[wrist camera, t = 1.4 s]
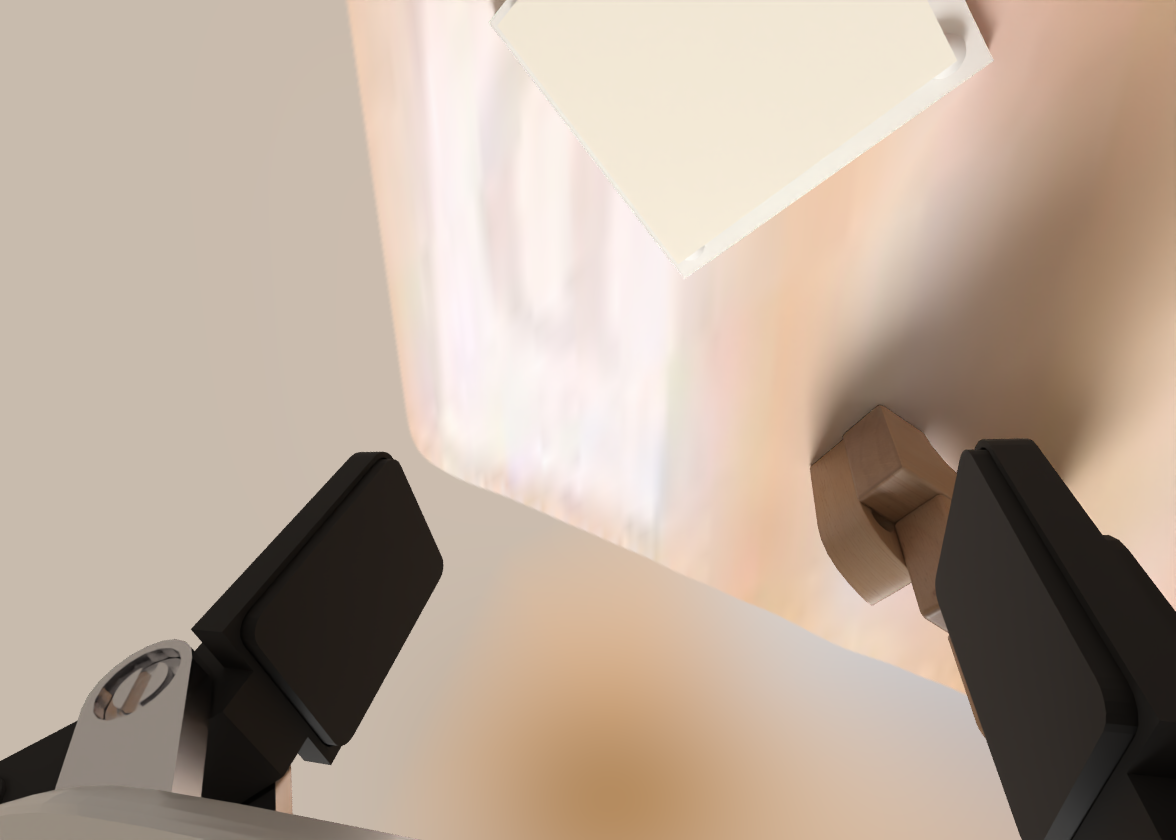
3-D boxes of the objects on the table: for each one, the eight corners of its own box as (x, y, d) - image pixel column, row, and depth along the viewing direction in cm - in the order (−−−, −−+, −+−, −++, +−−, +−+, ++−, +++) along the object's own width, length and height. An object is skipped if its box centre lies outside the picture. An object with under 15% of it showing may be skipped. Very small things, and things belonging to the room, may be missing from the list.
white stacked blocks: (789, -348, 20) (823, -661, 11) (985, 59, 24) (1120, 73, 16) (495, 23, 28) (379, 17, 19) (685, 273, 33) (662, 361, 24)
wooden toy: (802, 467, 38) (862, 941, 18) (879, 401, 34) (1065, 913, 14) (974, 577, 40) (1201, 1119, 20) (1066, 527, 36) (1462, 1137, 16)
